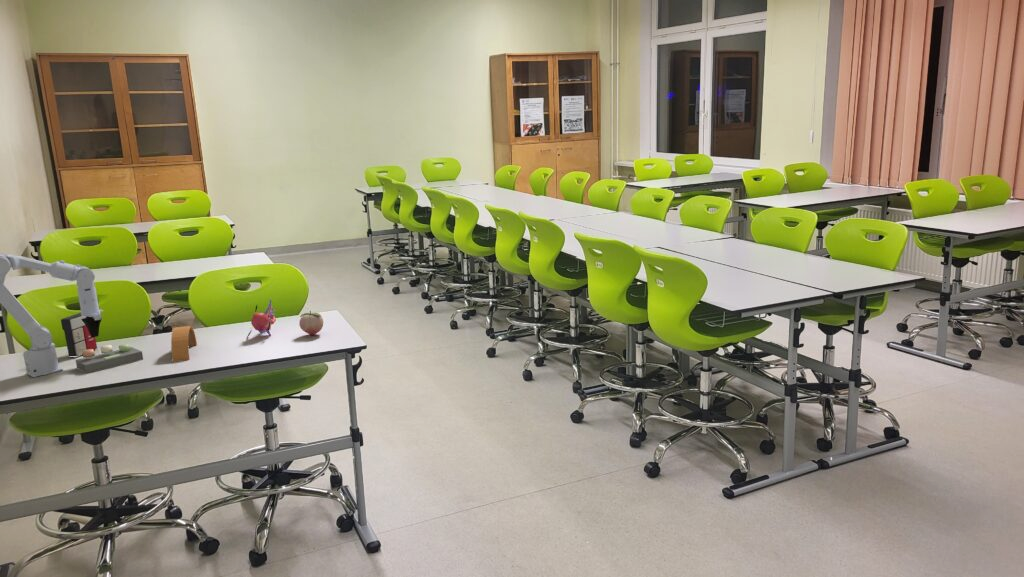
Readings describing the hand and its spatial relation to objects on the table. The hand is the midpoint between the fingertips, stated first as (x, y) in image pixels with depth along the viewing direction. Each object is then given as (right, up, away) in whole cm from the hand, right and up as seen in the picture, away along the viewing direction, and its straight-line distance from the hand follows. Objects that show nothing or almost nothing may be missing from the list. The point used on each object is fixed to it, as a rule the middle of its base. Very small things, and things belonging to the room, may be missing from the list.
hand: (94, 336), depth 268 cm
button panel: (+7, -10, -2) cm, 12 cm away
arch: (+30, -7, +7) cm, 31 cm away
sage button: (+9, -5, +3) cm, 11 cm away
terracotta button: (+1, -7, -6) cm, 9 cm away
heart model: (+52, -1, +27) cm, 59 cm away
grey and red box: (-12, -8, +14) cm, 20 cm away
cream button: (+5, -5, -2) cm, 8 cm away
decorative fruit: (+73, -1, +23) cm, 77 cm away
